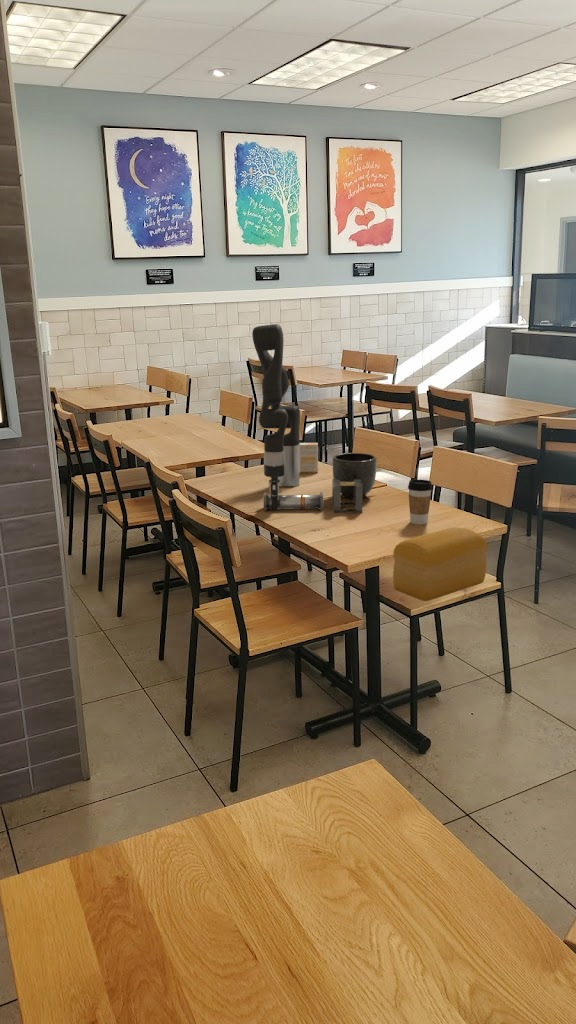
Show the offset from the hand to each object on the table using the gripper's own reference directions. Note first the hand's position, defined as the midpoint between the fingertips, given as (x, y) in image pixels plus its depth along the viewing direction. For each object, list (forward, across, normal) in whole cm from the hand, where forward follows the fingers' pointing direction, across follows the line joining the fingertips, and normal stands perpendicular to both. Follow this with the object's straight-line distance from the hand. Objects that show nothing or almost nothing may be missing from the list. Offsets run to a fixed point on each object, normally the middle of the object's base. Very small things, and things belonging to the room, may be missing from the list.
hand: (274, 507), depth 302 cm
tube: (+1, 0, +7) cm, 7 cm away
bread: (+1, +81, +47) cm, 94 cm away
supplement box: (+1, -63, +14) cm, 65 cm away
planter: (+1, -18, +31) cm, 36 cm away
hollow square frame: (+1, 0, +27) cm, 27 cm away
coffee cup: (+1, +19, +51) cm, 54 cm away
